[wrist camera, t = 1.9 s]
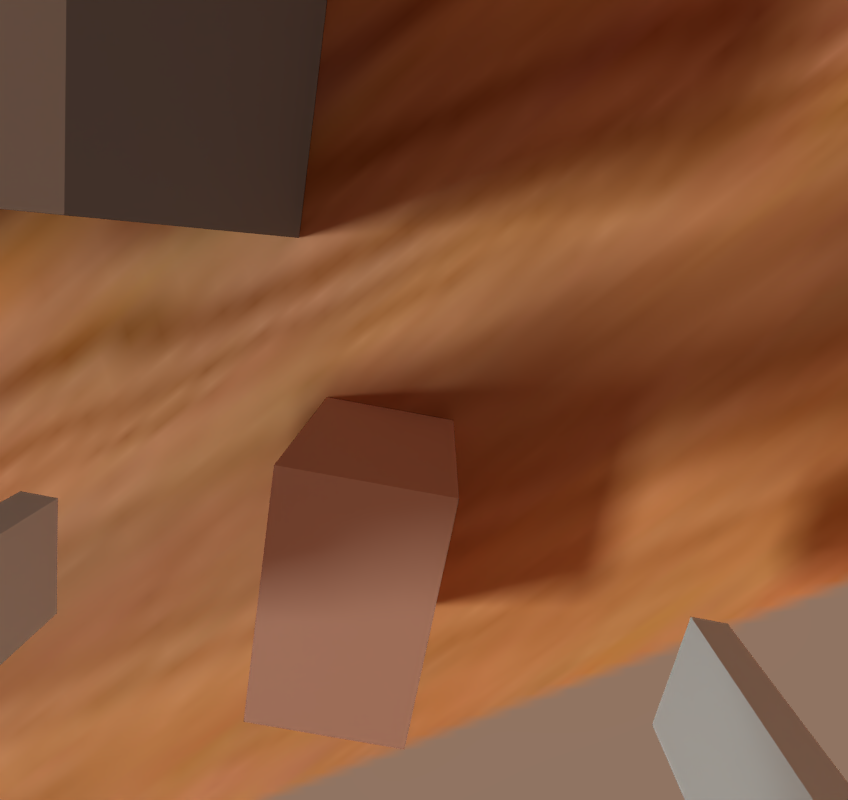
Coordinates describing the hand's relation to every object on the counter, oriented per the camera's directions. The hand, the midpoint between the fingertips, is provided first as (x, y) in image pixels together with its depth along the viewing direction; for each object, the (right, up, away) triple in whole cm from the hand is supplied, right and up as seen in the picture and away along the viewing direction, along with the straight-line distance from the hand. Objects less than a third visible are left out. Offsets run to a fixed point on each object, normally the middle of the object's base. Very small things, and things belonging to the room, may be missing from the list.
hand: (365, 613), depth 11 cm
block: (0, +1, +5) cm, 5 cm away
